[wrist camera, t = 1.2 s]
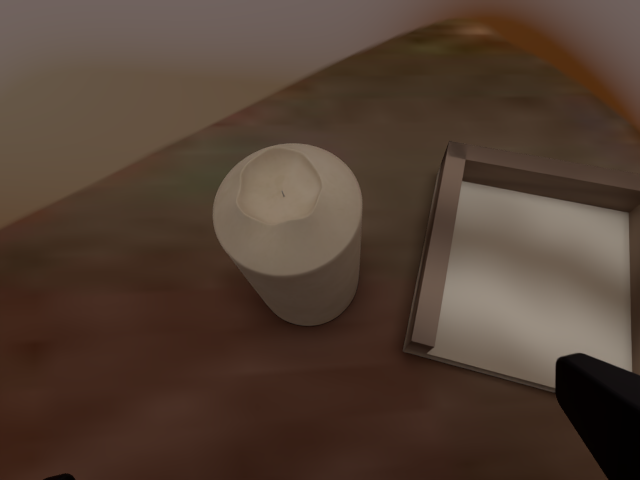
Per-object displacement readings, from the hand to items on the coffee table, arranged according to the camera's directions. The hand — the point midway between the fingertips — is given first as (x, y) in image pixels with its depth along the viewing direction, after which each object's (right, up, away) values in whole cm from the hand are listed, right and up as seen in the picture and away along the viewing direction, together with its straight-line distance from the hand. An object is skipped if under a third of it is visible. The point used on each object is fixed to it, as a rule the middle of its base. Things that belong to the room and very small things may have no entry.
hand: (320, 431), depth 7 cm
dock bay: (+11, +1, +14) cm, 18 cm away
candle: (-1, +1, +15) cm, 15 cm away
